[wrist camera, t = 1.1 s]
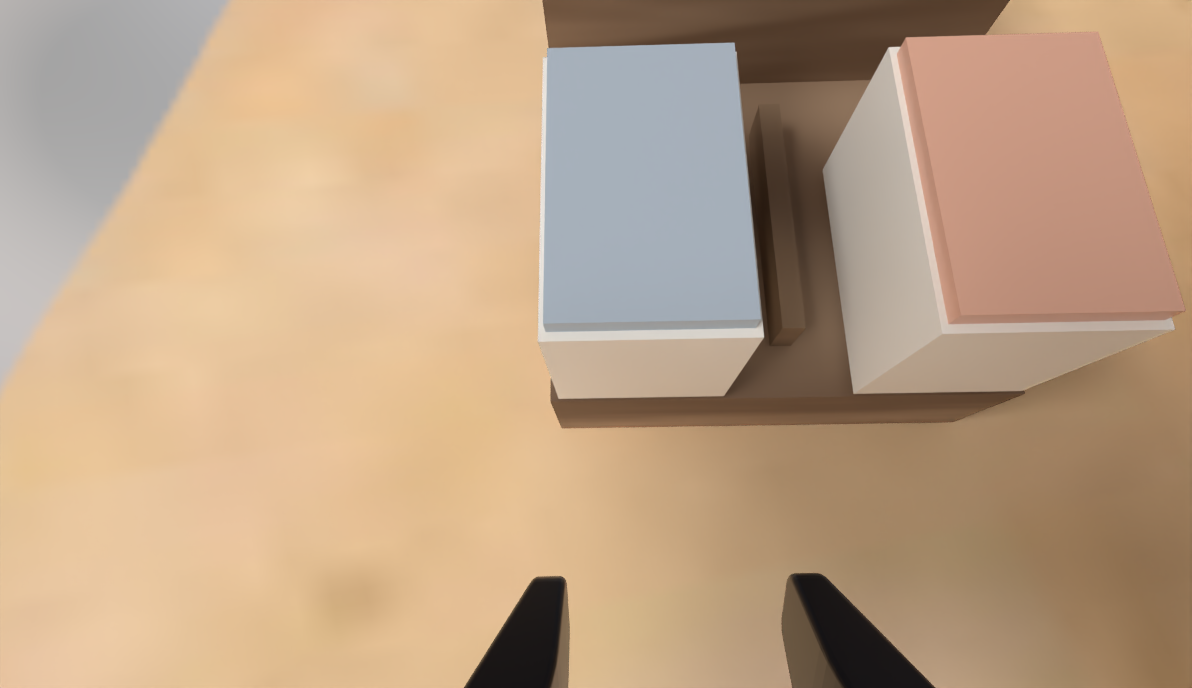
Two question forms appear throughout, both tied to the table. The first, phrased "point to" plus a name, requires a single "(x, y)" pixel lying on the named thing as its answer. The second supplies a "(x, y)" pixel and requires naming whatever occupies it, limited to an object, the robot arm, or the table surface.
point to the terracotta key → (992, 218)
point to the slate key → (645, 222)
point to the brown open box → (782, 192)
